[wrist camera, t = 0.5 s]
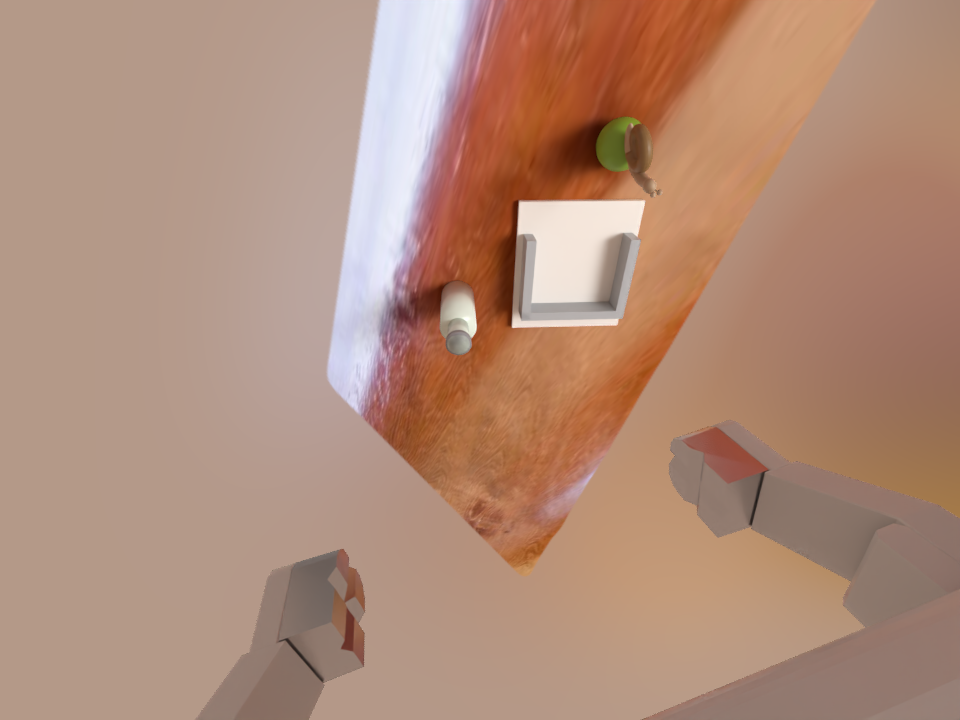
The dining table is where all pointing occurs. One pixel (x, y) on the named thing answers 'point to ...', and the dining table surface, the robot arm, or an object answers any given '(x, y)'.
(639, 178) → the snail figurine
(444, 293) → the pale green bottle
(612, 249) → the u stand
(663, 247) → the dining table surface
